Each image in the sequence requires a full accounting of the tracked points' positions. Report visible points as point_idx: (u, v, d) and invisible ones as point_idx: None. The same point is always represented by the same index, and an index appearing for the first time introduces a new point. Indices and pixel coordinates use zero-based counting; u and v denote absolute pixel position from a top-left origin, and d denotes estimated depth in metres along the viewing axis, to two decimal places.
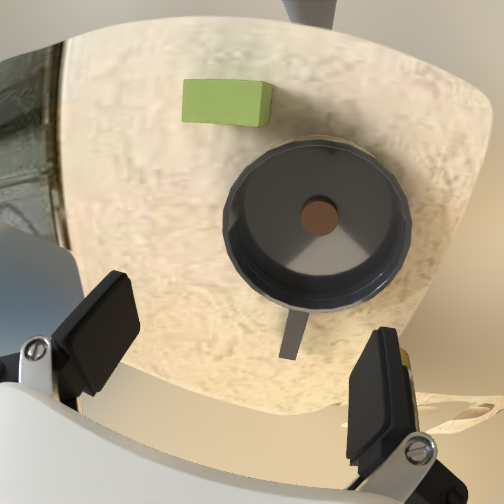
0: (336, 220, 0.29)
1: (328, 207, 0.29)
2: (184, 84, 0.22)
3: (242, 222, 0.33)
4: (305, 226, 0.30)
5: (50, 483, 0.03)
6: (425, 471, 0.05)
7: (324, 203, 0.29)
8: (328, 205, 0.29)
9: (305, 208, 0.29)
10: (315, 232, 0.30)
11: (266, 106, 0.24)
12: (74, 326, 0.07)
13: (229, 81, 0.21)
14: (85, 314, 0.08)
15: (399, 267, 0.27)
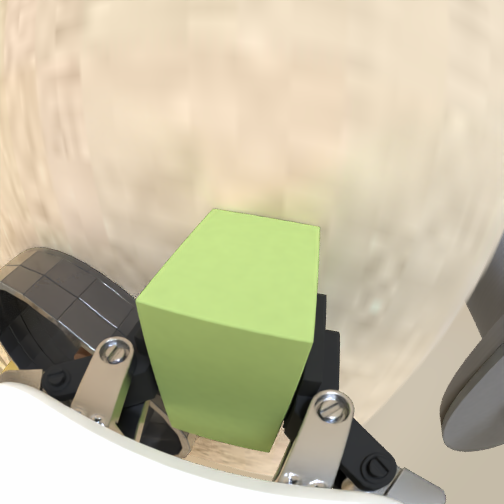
0: None
1: None
2: (289, 342, 0.06)
3: None
4: (78, 356, 0.17)
5: (50, 483, 0.03)
6: (349, 425, 0.06)
7: None
8: None
9: None
10: None
11: None
12: None
13: (275, 425, 0.08)
14: None
15: None
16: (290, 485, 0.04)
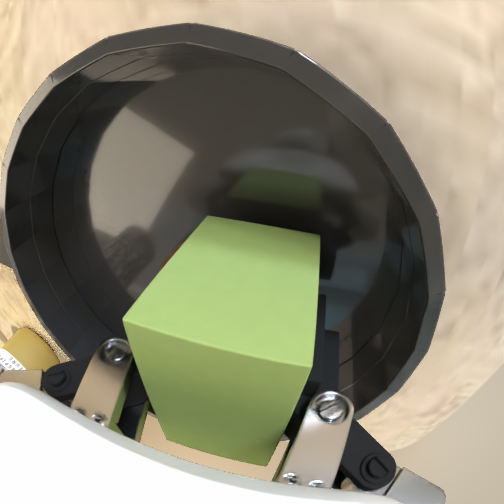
0: None
1: None
2: (286, 366, 0.05)
3: (159, 79, 0.09)
4: None
5: (50, 483, 0.03)
6: (348, 425, 0.06)
7: None
8: None
9: None
10: None
11: None
12: None
13: (272, 442, 0.07)
14: None
15: None
16: (290, 485, 0.04)
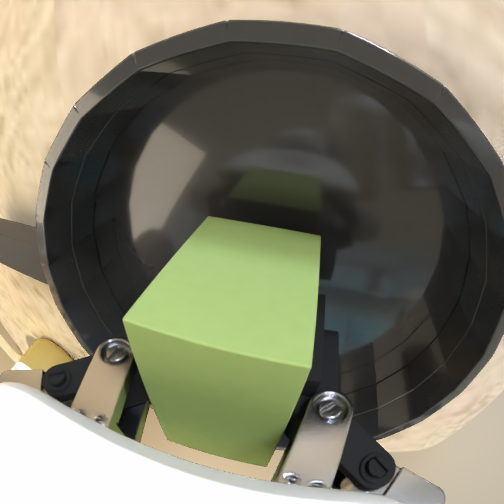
0: None
1: None
2: (285, 366, 0.05)
3: (248, 78, 0.08)
4: None
5: (50, 483, 0.03)
6: (348, 425, 0.06)
7: None
8: None
9: None
10: None
11: None
12: None
13: (272, 443, 0.07)
14: None
15: None
16: (290, 485, 0.04)
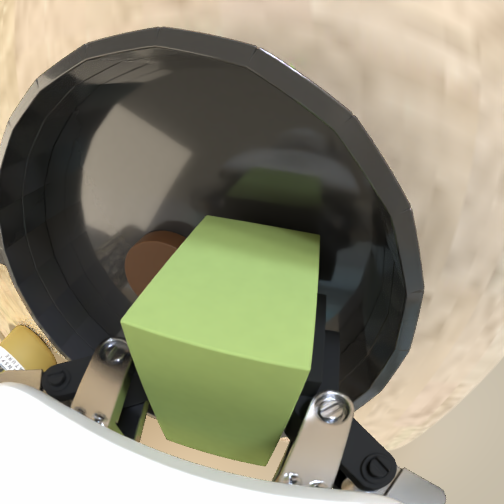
0: None
1: None
2: (284, 369, 0.05)
3: (141, 81, 0.09)
4: (143, 248, 0.12)
5: (50, 483, 0.03)
6: (349, 425, 0.06)
7: None
8: None
9: None
10: (131, 264, 0.12)
11: None
12: None
13: (271, 443, 0.07)
14: None
15: (149, 415, 0.15)
16: (290, 485, 0.04)
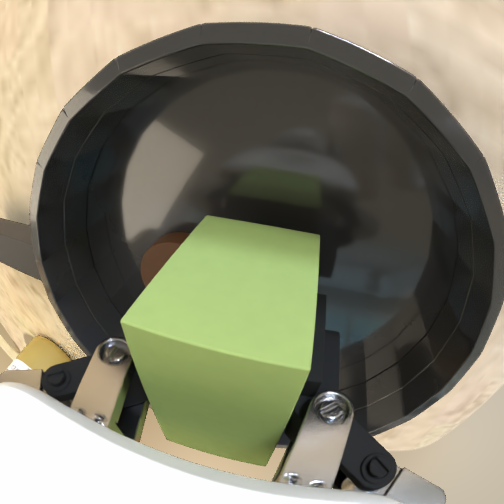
0: None
1: None
2: (284, 369, 0.05)
3: (230, 78, 0.09)
4: (160, 249, 0.12)
5: (50, 483, 0.03)
6: (349, 425, 0.06)
7: None
8: None
9: None
10: (147, 266, 0.12)
11: None
12: None
13: (271, 443, 0.07)
14: None
15: None
16: (290, 485, 0.04)
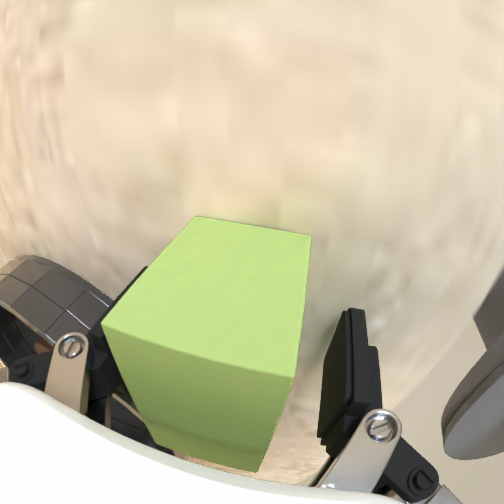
0: None
1: None
2: (267, 375, 0.05)
3: None
4: (38, 346, 0.17)
5: (50, 483, 0.03)
6: (393, 446, 0.05)
7: None
8: None
9: None
10: (38, 351, 0.17)
11: None
12: None
13: (260, 450, 0.07)
14: None
15: None
16: (290, 485, 0.04)
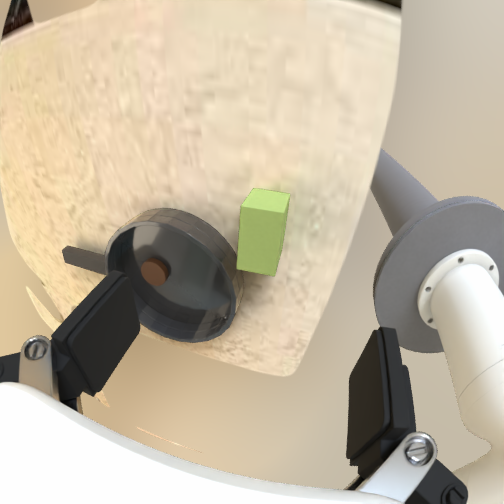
0: (152, 284, 0.40)
1: (161, 281, 0.39)
2: (278, 213, 0.26)
3: None
4: (146, 263, 0.38)
5: (50, 483, 0.03)
6: (425, 471, 0.05)
7: (163, 280, 0.39)
8: (162, 282, 0.39)
9: (159, 267, 0.38)
10: (143, 268, 0.39)
11: None
12: (74, 326, 0.07)
13: (276, 252, 0.28)
14: (85, 314, 0.08)
15: (162, 335, 0.41)
16: (290, 485, 0.04)
